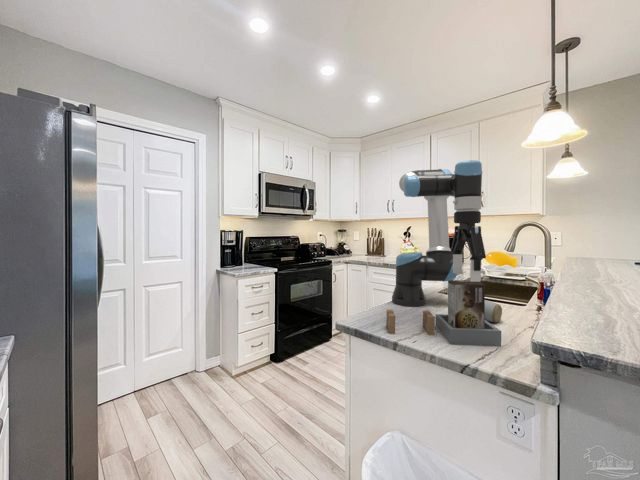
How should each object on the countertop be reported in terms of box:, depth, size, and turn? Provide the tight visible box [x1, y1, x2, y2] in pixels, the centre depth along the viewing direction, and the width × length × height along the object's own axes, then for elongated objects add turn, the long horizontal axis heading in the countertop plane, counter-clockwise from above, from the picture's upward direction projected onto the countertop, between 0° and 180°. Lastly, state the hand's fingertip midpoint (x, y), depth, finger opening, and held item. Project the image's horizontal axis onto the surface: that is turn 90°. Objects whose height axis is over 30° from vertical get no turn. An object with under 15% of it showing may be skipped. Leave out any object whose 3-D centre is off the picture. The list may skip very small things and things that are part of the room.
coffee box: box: [447, 279, 486, 329], centre depth 87 cm, size 9×6×16 cm
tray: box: [434, 313, 502, 347], centre depth 88 cm, size 14×14×4 cm
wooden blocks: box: [385, 308, 435, 336], centre depth 93 cm, size 7×14×6 cm, turn 83°
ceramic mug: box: [485, 299, 503, 324], centre depth 103 cm, size 11×8×8 cm
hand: (465, 277), depth 87 cm, fingers open, 13 cm apart
